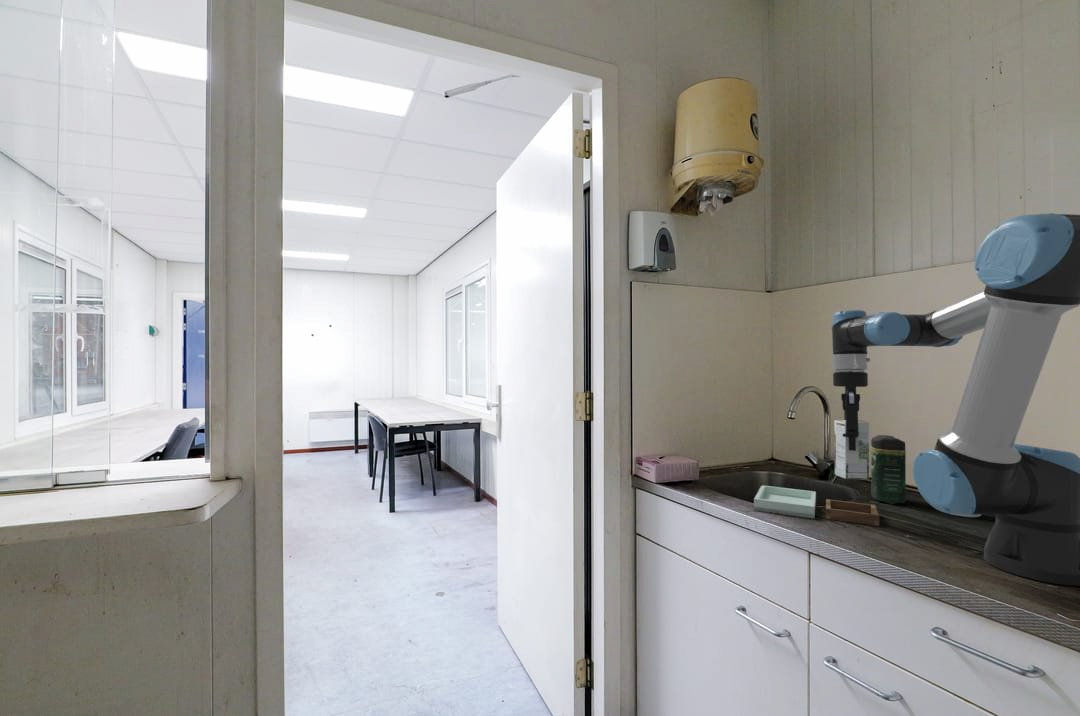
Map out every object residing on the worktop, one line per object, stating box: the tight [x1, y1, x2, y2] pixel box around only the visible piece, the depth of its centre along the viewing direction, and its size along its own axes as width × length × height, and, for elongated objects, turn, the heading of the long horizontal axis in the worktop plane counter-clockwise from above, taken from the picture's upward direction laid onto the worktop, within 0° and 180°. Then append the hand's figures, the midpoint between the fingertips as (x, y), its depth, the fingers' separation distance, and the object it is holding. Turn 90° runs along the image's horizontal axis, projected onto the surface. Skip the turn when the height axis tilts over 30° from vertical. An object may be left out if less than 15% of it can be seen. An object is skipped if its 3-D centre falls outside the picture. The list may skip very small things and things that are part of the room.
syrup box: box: [833, 419, 870, 480], centre depth 125 cm, size 6×6×14 cm
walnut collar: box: [825, 498, 880, 527], centre depth 125 cm, size 11×11×2 cm
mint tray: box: [753, 484, 817, 520], centre depth 134 cm, size 18×14×3 cm
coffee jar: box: [870, 434, 907, 504], centre depth 142 cm, size 10×8×19 cm
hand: (851, 461), depth 125 cm, fingers closed on syrup box, 7 cm apart
